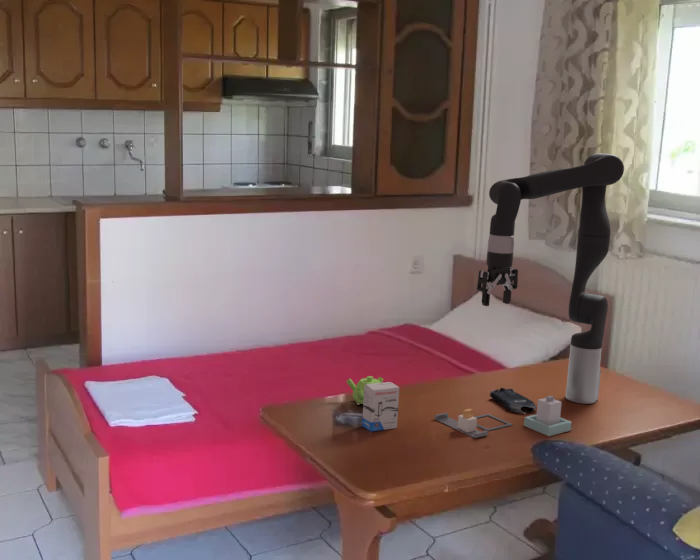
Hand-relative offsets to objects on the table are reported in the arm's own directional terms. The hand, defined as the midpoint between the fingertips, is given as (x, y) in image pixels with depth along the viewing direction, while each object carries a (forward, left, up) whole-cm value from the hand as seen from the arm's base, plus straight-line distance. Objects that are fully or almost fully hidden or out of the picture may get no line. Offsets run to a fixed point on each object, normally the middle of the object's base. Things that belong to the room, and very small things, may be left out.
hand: (496, 304), depth 239 cm
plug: (+1, +24, -30) cm, 39 cm away
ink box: (+42, +1, -30) cm, 52 cm away
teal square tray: (+1, +24, -30) cm, 39 cm away
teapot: (+34, -16, -30) cm, 48 cm away
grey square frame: (+13, +13, -30) cm, 35 cm away
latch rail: (+22, +12, -30) cm, 39 cm away
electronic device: (-5, +6, -31) cm, 32 cm away
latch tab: (+22, +14, -30) cm, 40 cm away
